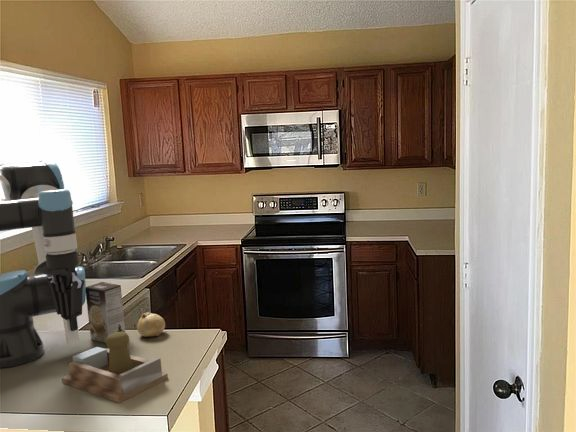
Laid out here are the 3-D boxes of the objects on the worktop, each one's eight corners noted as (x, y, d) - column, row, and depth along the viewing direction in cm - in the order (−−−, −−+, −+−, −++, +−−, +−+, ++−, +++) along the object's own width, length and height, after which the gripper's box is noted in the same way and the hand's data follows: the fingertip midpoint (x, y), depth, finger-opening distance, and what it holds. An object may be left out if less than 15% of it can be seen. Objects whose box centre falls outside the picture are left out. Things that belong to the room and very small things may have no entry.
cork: (127, 383, 126) (122, 338, 125) (103, 383, 127) (98, 338, 126) (139, 372, 132) (134, 329, 130) (116, 372, 133) (111, 328, 132)
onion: (156, 328, 168) (154, 306, 167) (171, 333, 162) (169, 310, 161) (133, 336, 162) (130, 313, 161) (147, 342, 157) (145, 318, 156)
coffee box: (89, 339, 162) (83, 286, 159) (107, 332, 167) (101, 281, 165) (109, 344, 156) (103, 290, 154) (127, 337, 162) (121, 284, 159)
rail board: (62, 382, 132) (59, 360, 131) (110, 361, 143) (108, 341, 143) (119, 402, 119) (116, 378, 119) (167, 378, 131) (165, 355, 130)
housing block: (74, 371, 135) (72, 356, 134) (98, 361, 140) (97, 346, 140) (84, 374, 132) (82, 359, 132) (108, 364, 138) (106, 349, 138)
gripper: (33, 253, 137) (45, 343, 140) (62, 256, 130) (74, 351, 133) (60, 247, 143) (71, 333, 146) (90, 249, 136) (101, 341, 139)
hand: (72, 342), depth 139 cm, fingers closed
